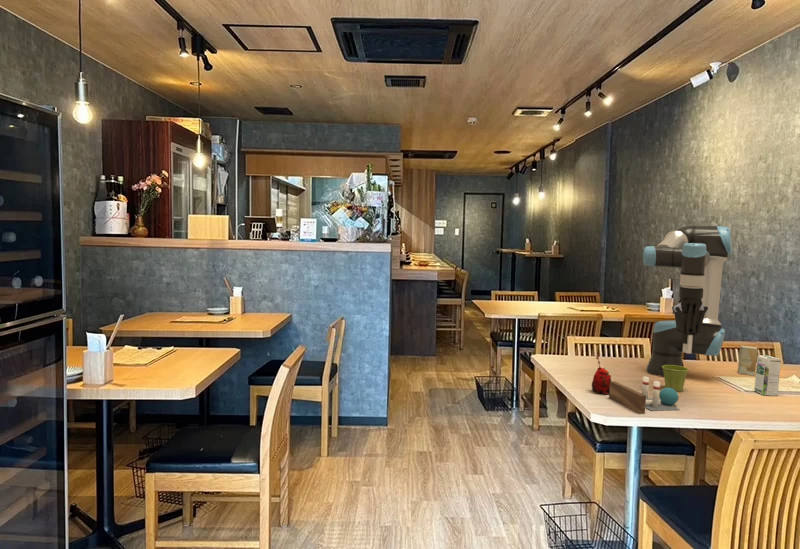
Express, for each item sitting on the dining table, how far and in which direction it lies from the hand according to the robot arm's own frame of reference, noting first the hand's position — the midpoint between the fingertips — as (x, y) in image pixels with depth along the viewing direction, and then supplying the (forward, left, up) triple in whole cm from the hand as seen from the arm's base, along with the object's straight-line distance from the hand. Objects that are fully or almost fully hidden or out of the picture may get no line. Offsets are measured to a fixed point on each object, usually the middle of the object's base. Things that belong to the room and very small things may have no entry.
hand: (686, 352), depth 199 cm
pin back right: (+16, 0, -18) cm, 24 cm away
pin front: (+13, +4, -17) cm, 21 cm away
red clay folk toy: (+25, -13, -18) cm, 33 cm away
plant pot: (-7, -15, -18) cm, 25 cm away
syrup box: (-41, -7, -18) cm, 46 cm away
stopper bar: (+24, +3, -18) cm, 30 cm away
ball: (+9, +3, -15) cm, 17 cm away
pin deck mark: (+14, +3, -18) cm, 23 cm away
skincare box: (-61, -37, -18) cm, 73 cm away
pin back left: (+15, +6, -18) cm, 24 cm away
